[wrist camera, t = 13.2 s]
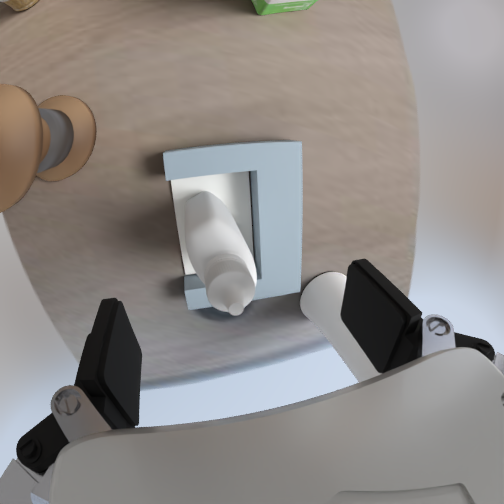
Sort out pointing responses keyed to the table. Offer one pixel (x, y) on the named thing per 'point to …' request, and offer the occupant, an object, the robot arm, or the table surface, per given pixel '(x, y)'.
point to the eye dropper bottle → (219, 253)
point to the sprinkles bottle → (19, 4)
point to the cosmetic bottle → (335, 321)
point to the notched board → (246, 206)
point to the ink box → (281, 5)
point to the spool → (40, 140)
